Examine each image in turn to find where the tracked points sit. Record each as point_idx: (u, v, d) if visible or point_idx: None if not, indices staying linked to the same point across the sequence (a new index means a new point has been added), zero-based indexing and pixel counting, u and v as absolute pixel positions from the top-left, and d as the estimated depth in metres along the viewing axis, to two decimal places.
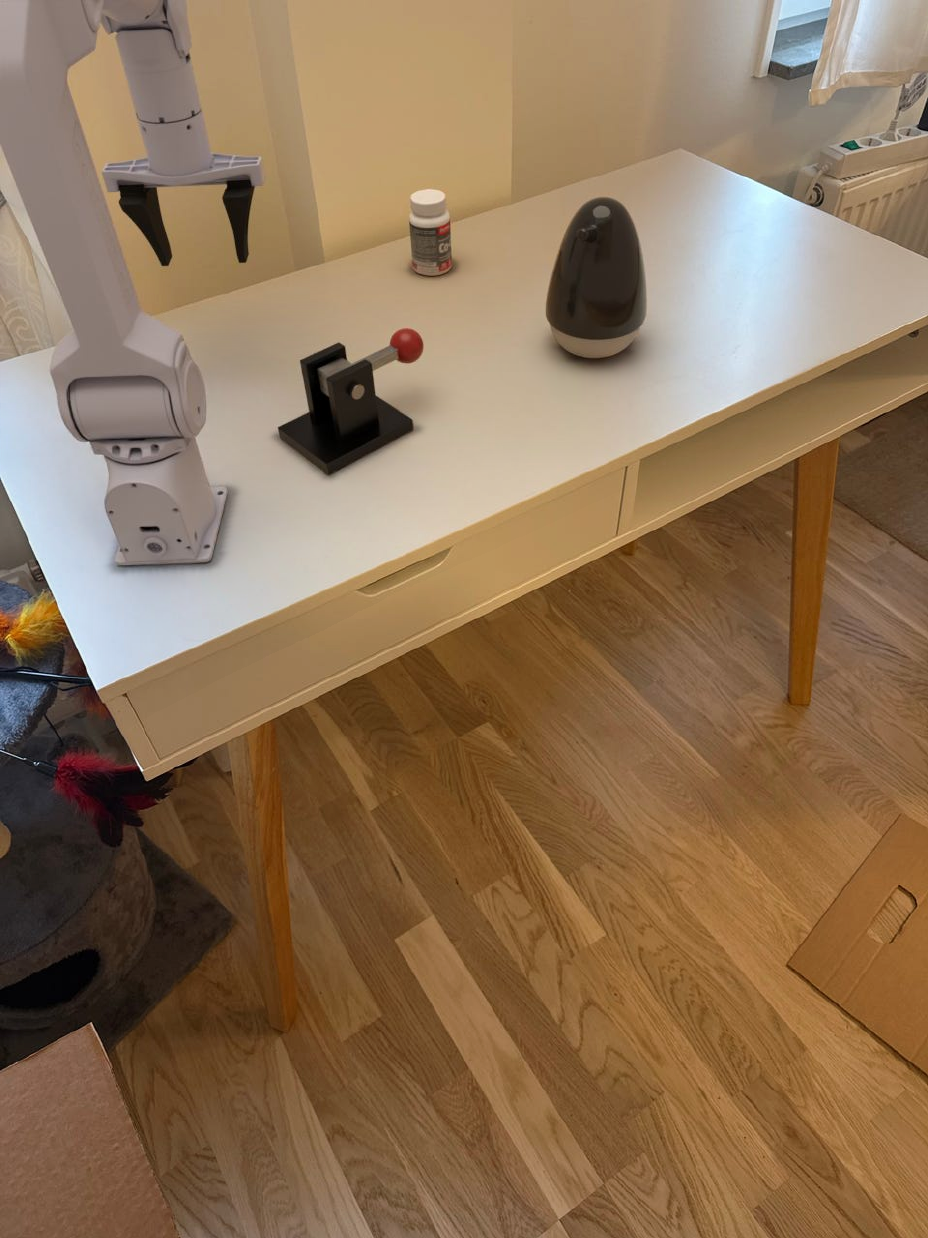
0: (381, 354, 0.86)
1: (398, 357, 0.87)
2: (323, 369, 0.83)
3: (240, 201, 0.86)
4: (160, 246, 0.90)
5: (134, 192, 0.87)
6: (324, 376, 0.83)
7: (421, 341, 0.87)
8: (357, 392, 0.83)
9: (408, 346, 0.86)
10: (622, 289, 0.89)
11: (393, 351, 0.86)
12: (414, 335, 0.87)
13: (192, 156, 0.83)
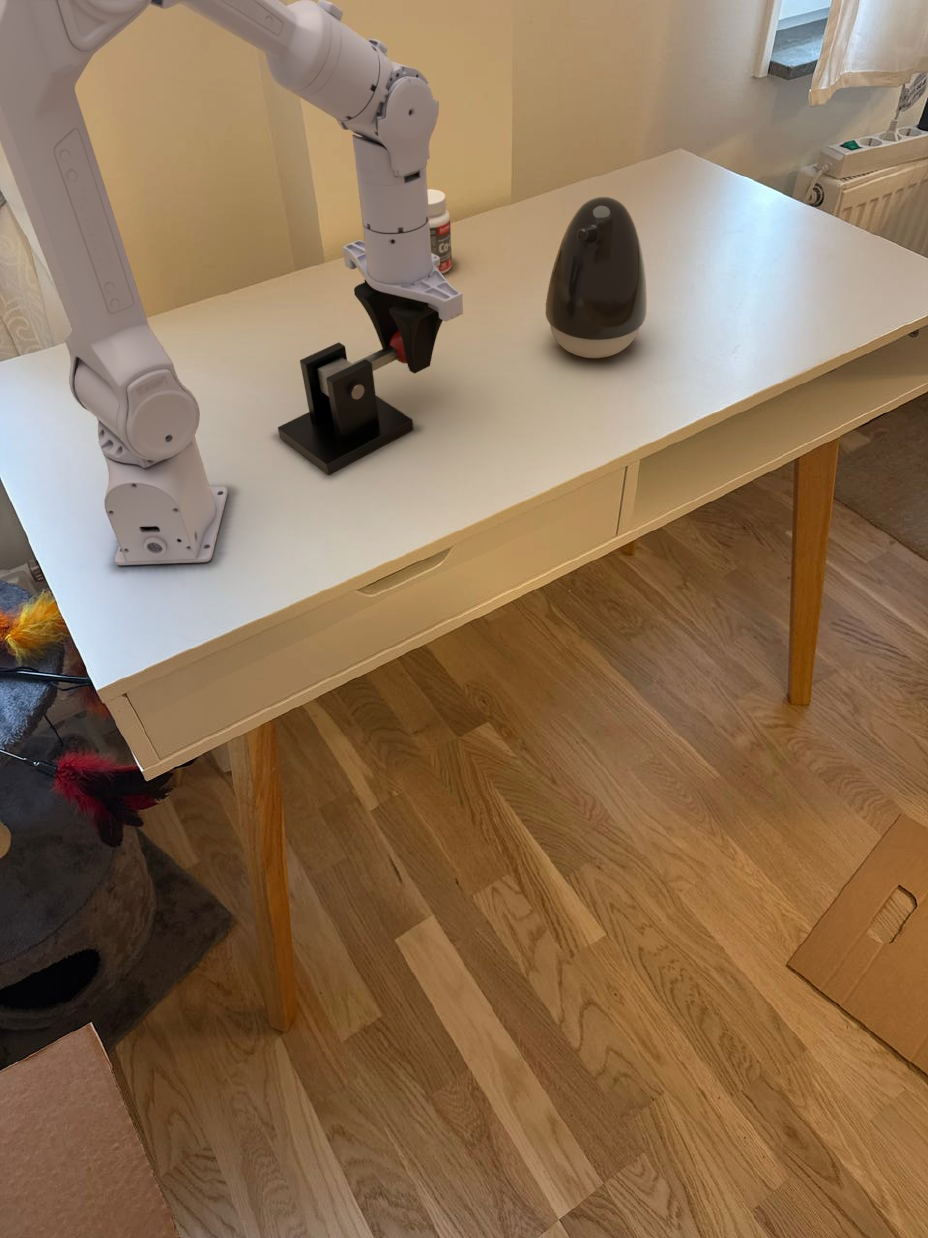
0: (381, 354, 0.86)
1: (398, 357, 0.87)
2: (323, 369, 0.83)
3: (401, 319, 0.81)
4: (383, 339, 0.88)
5: None
6: (324, 376, 0.83)
7: None
8: (357, 392, 0.83)
9: None
10: (622, 289, 0.89)
11: (393, 351, 0.86)
12: None
13: (390, 268, 0.79)
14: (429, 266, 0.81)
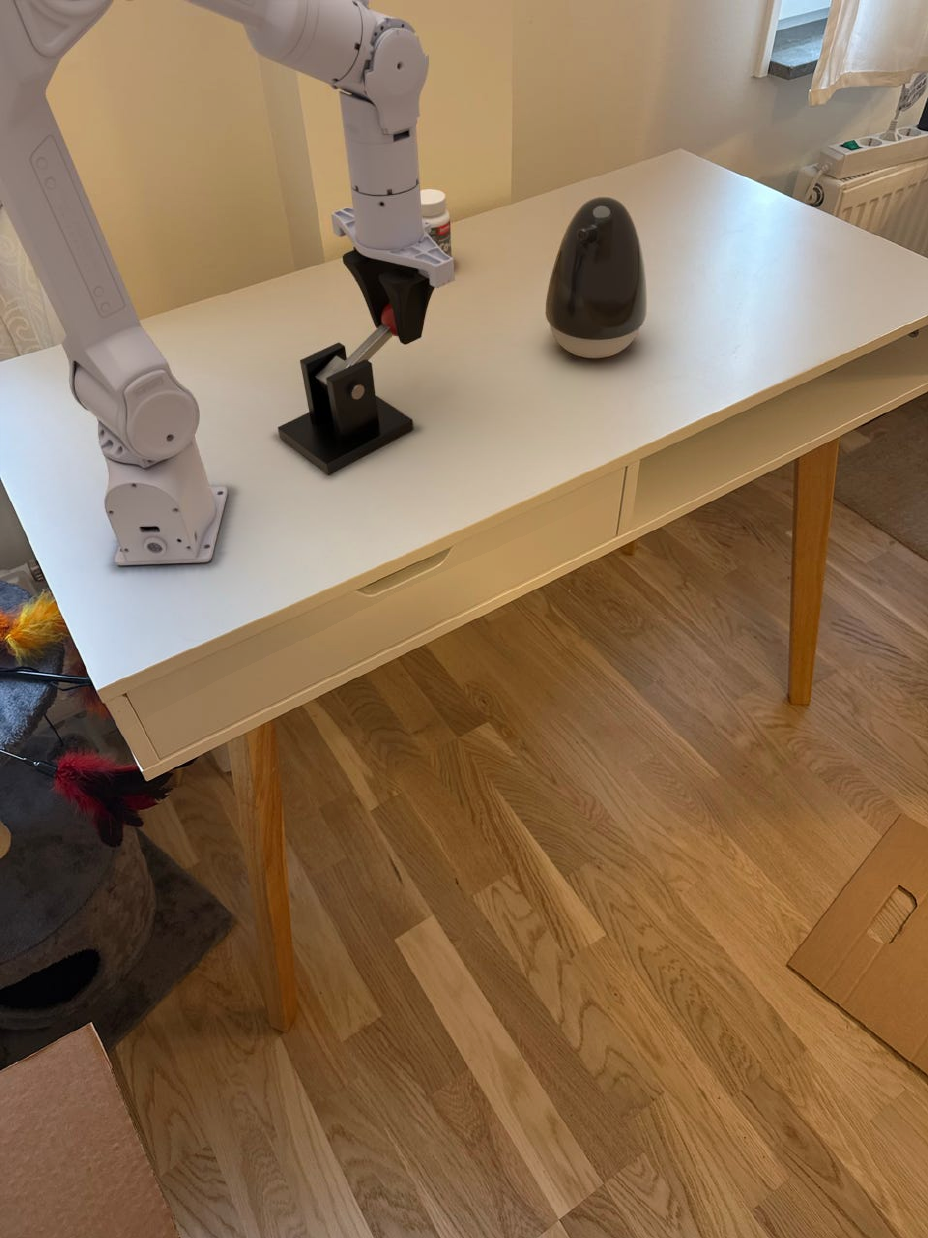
0: (374, 338, 0.84)
1: (392, 334, 0.85)
2: (321, 375, 0.84)
3: (391, 286, 0.78)
4: (373, 309, 0.85)
5: None
6: (323, 383, 0.84)
7: None
8: (357, 392, 0.83)
9: None
10: (622, 289, 0.89)
11: (386, 331, 0.84)
12: None
13: (379, 233, 0.77)
14: (420, 231, 0.78)
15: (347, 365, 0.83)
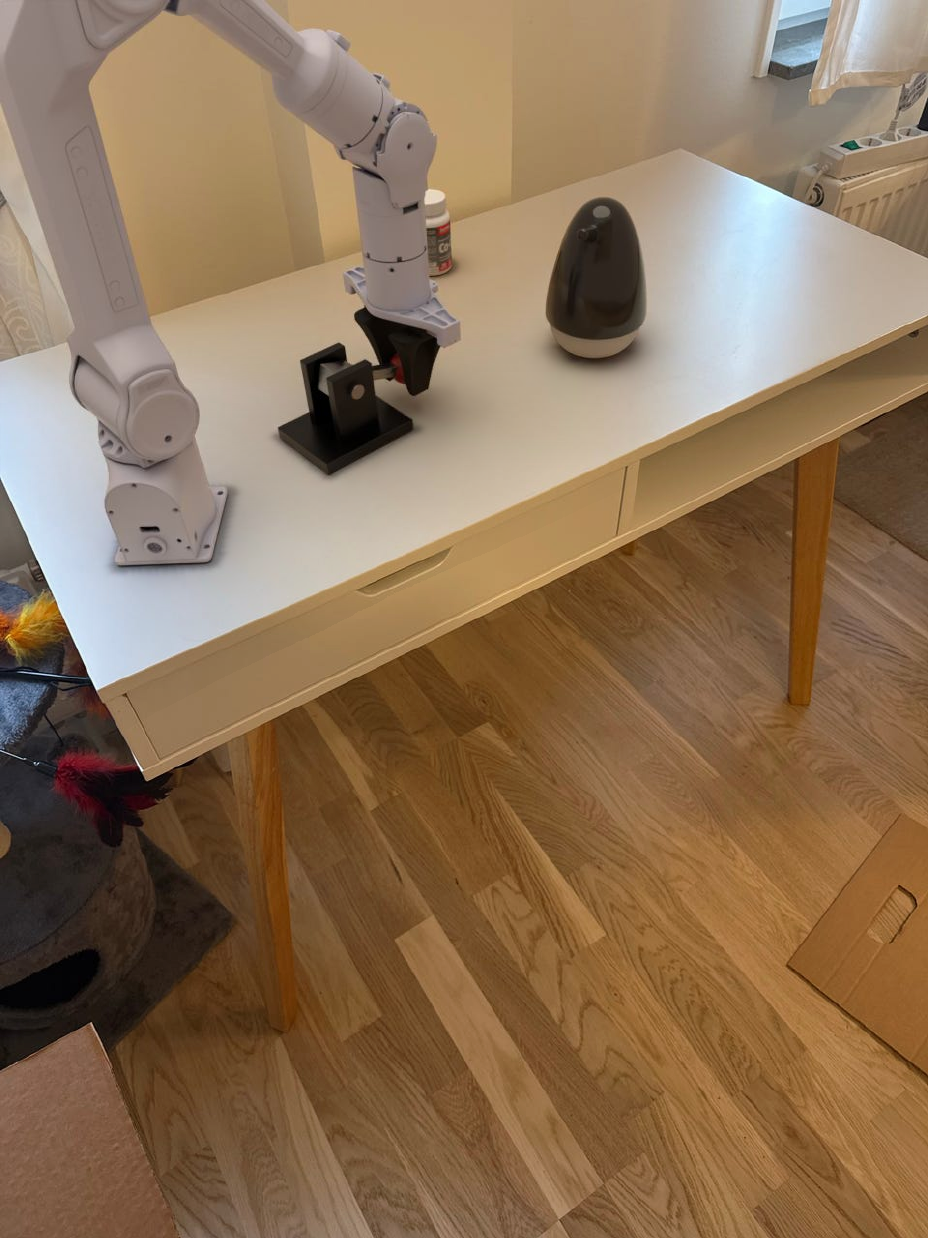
0: (382, 367, 0.87)
1: (397, 375, 0.88)
2: (326, 365, 0.83)
3: (400, 345, 0.83)
4: (383, 363, 0.89)
5: None
6: (326, 372, 0.83)
7: None
8: (357, 392, 0.83)
9: None
10: (622, 289, 0.89)
11: (394, 367, 0.88)
12: None
13: (389, 296, 0.81)
14: (427, 293, 0.83)
15: None
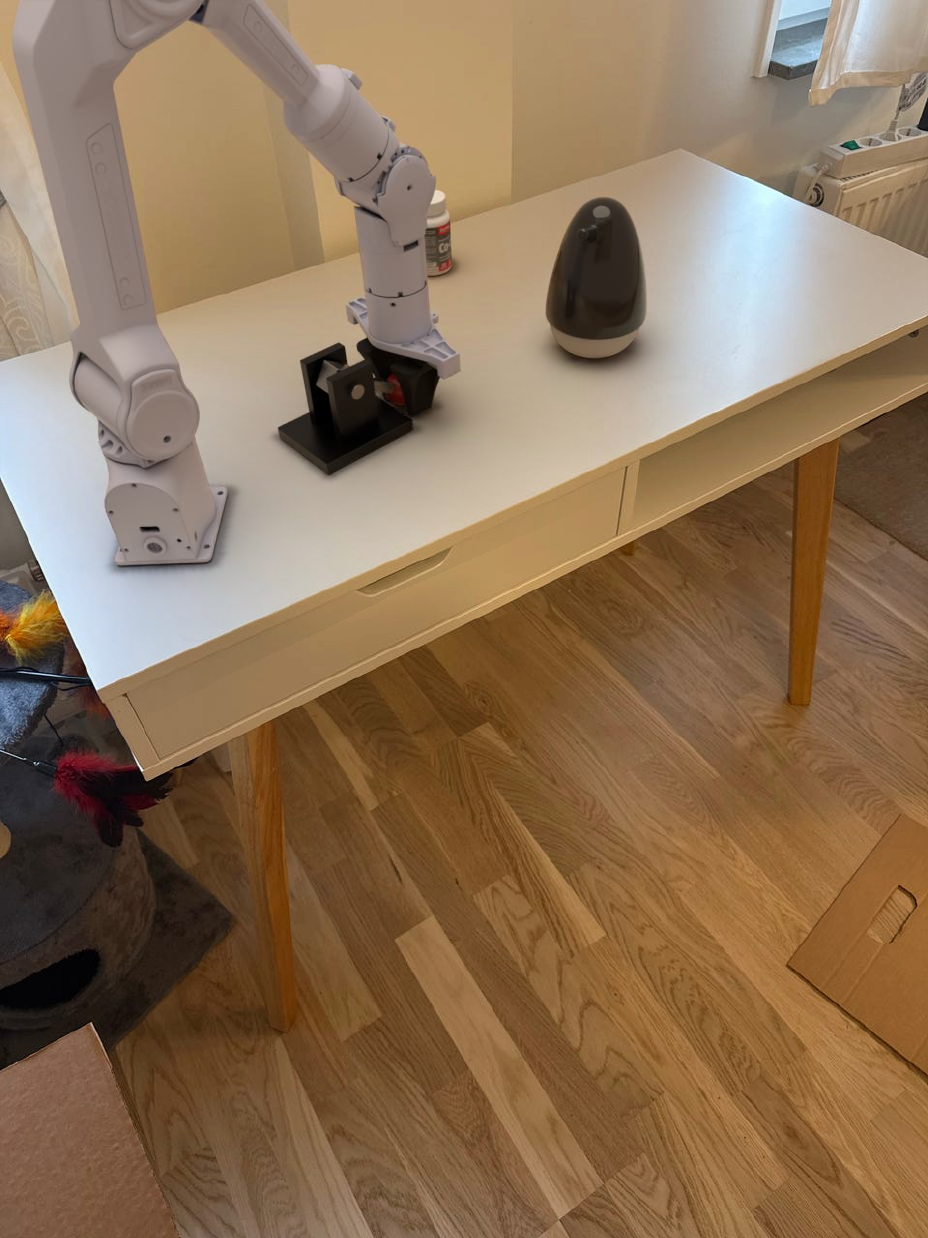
0: (380, 380, 0.88)
1: (392, 392, 0.89)
2: (330, 362, 0.83)
3: (401, 376, 0.85)
4: None
5: None
6: (329, 367, 0.83)
7: None
8: (357, 392, 0.83)
9: None
10: (622, 289, 0.89)
11: (391, 384, 0.88)
12: None
13: (391, 329, 0.83)
14: (428, 325, 0.85)
15: None
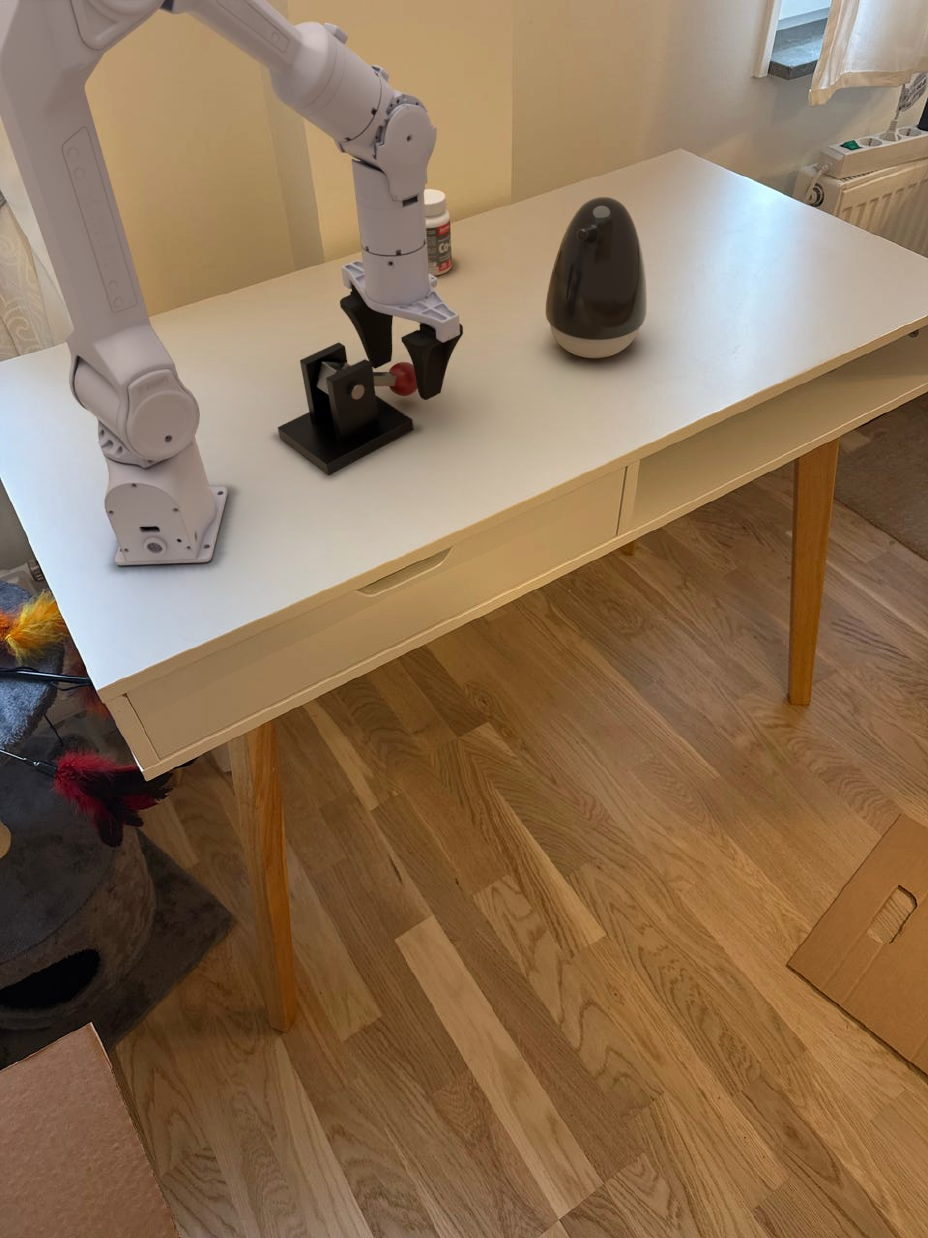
0: (381, 374, 0.87)
1: (395, 384, 0.89)
2: (328, 363, 0.83)
3: (413, 348, 0.81)
4: (369, 350, 0.90)
5: (360, 295, 0.87)
6: (327, 369, 0.83)
7: None
8: (357, 392, 0.83)
9: (408, 376, 0.89)
10: (622, 289, 0.89)
11: (393, 376, 0.88)
12: None
13: (388, 290, 0.81)
14: (426, 287, 0.82)
15: None
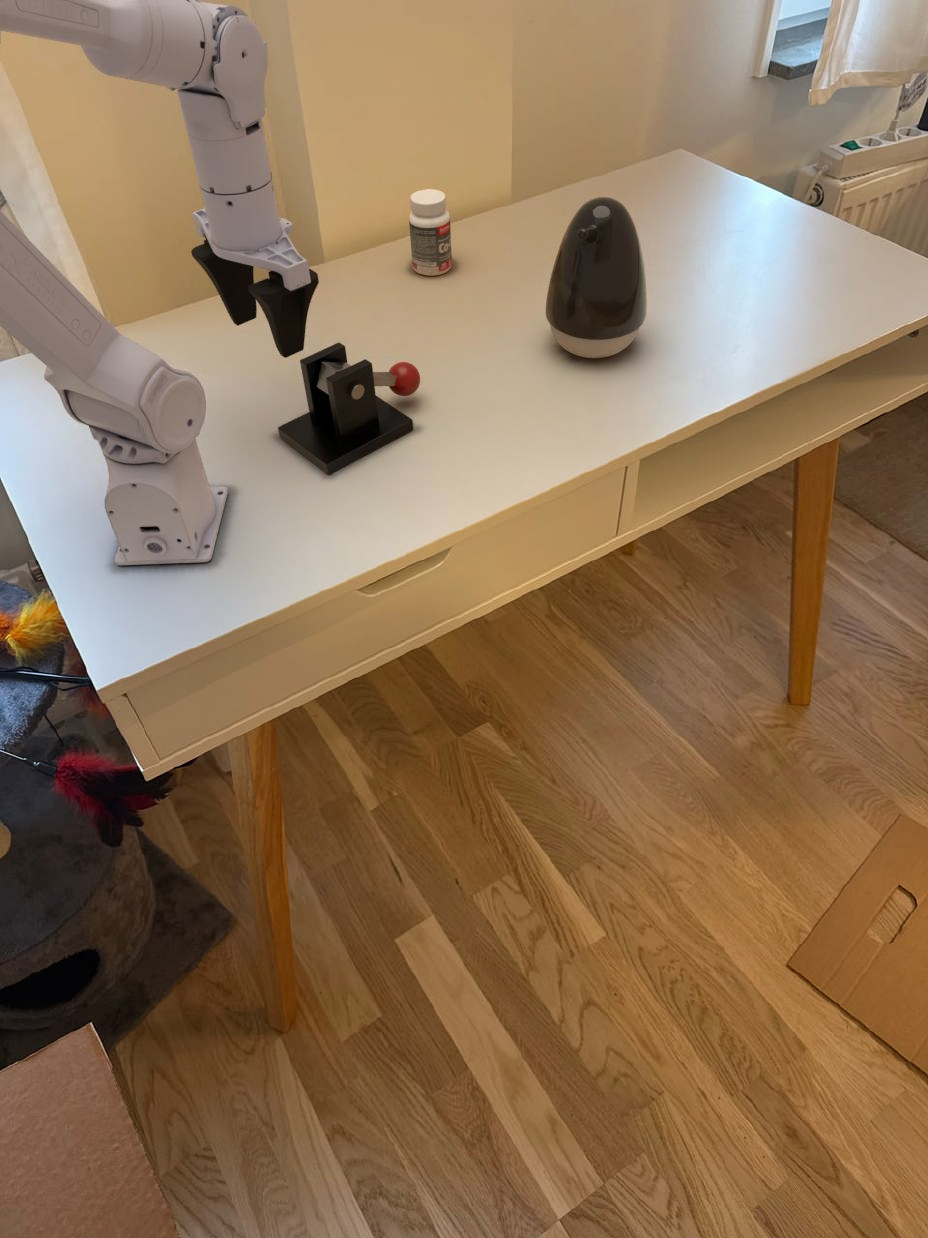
0: (381, 374, 0.87)
1: (395, 384, 0.89)
2: (328, 363, 0.83)
3: (260, 297, 0.75)
4: (228, 304, 0.83)
5: None
6: (327, 369, 0.83)
7: (419, 378, 0.90)
8: (357, 392, 0.83)
9: (408, 376, 0.89)
10: (622, 289, 0.89)
11: (393, 376, 0.88)
12: (415, 369, 0.89)
13: (230, 233, 0.74)
14: (276, 232, 0.75)
15: None
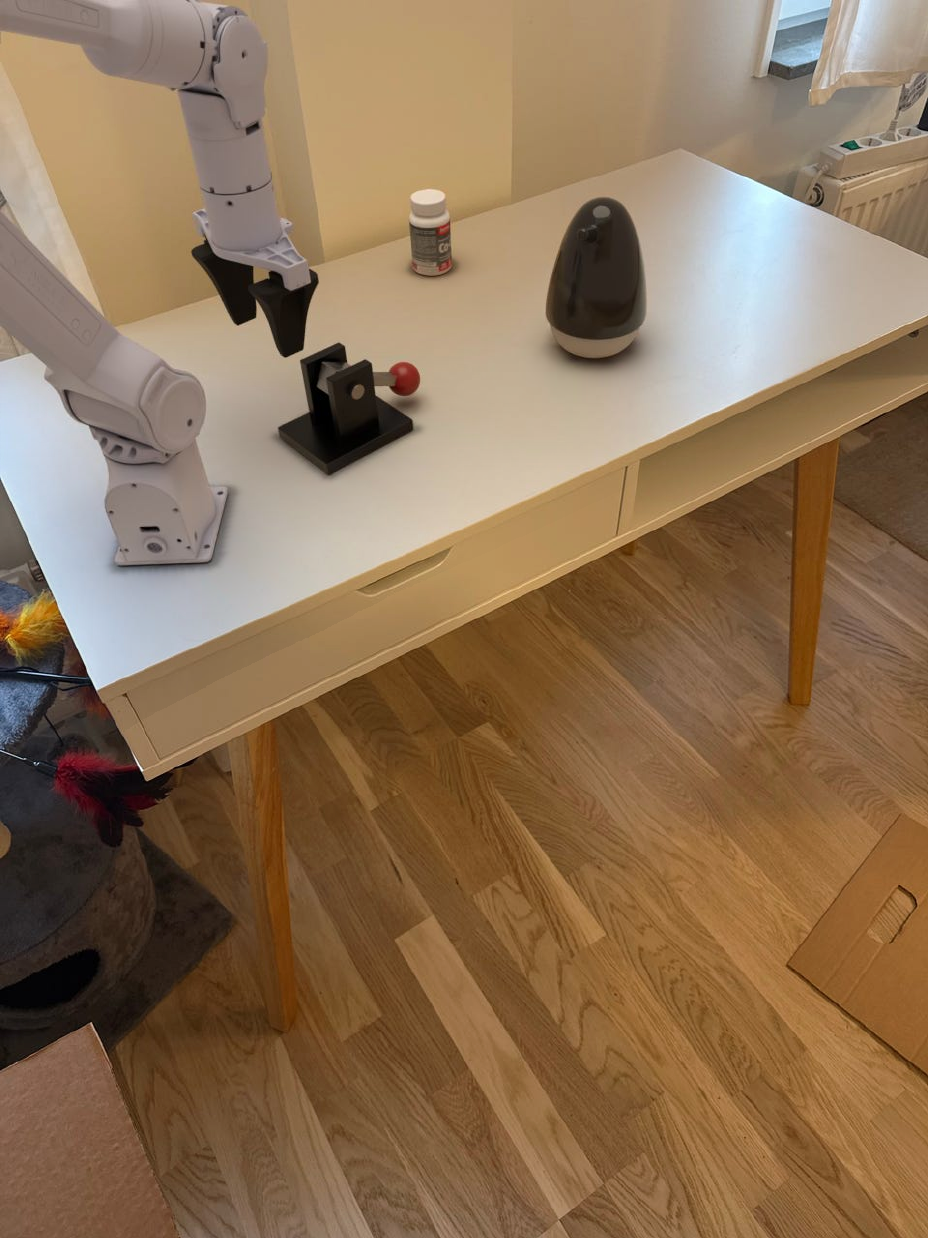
0: (381, 374, 0.87)
1: (395, 384, 0.89)
2: (328, 363, 0.83)
3: (260, 297, 0.75)
4: (228, 304, 0.83)
5: None
6: (327, 369, 0.83)
7: (419, 378, 0.90)
8: (357, 392, 0.83)
9: (408, 376, 0.89)
10: (622, 289, 0.89)
11: (393, 376, 0.88)
12: (415, 369, 0.89)
13: (230, 233, 0.74)
14: (276, 232, 0.75)
15: None
